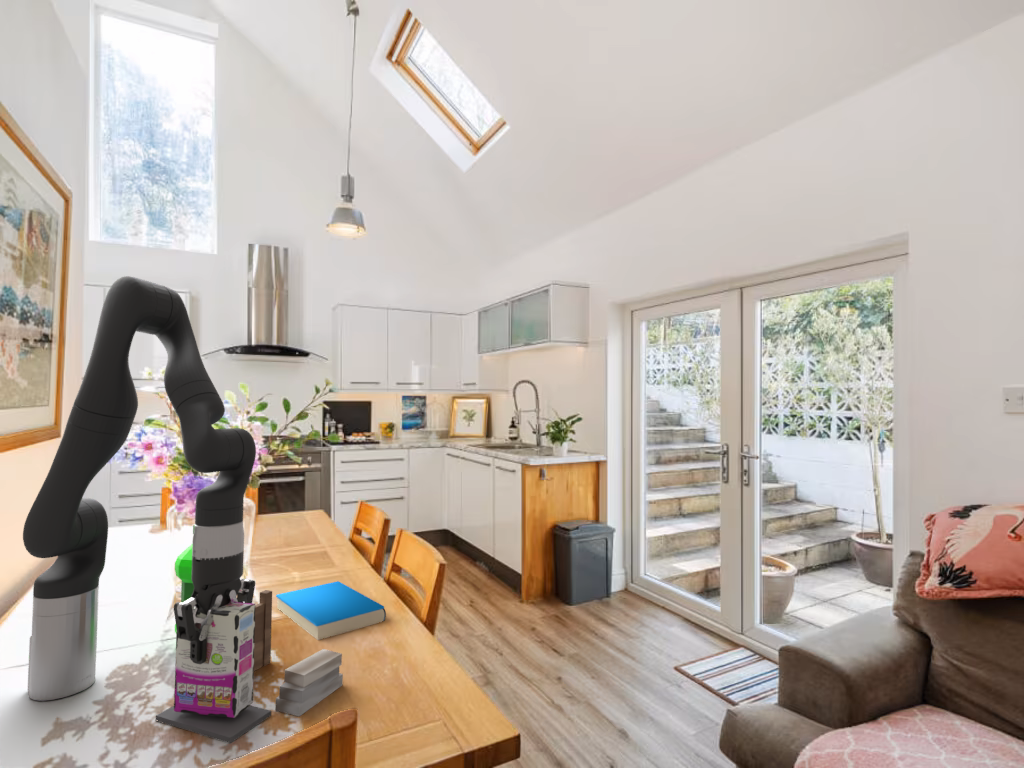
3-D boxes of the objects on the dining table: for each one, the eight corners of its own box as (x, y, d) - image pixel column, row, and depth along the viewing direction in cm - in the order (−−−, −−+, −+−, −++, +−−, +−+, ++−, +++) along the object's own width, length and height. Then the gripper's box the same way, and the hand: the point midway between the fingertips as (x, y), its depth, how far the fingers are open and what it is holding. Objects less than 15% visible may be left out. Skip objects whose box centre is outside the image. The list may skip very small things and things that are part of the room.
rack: (199, 697, 96) (201, 615, 97) (264, 661, 110) (266, 589, 110) (205, 699, 95) (208, 617, 96) (270, 662, 109) (272, 591, 110)
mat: (155, 720, 89) (155, 715, 89) (199, 696, 96) (199, 691, 96) (230, 743, 83) (230, 737, 83) (270, 715, 91) (271, 710, 91)
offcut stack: (275, 710, 92) (276, 673, 92) (320, 679, 102) (321, 647, 103) (300, 716, 90) (301, 679, 91) (343, 685, 101) (344, 651, 101)
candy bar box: (254, 702, 91) (257, 602, 92) (234, 719, 86) (237, 613, 87) (194, 696, 93) (197, 597, 94) (171, 712, 88) (175, 608, 89)
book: (317, 624, 120) (274, 593, 138) (316, 644, 119) (274, 611, 138) (387, 605, 131) (339, 579, 149) (386, 623, 131) (339, 595, 149)
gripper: (237, 538, 99) (234, 634, 98) (160, 558, 85) (156, 670, 85) (269, 542, 96) (266, 641, 96) (196, 564, 83) (192, 679, 82)
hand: (215, 654), depth 90 cm, fingers closed on candy bar box, 5 cm apart
